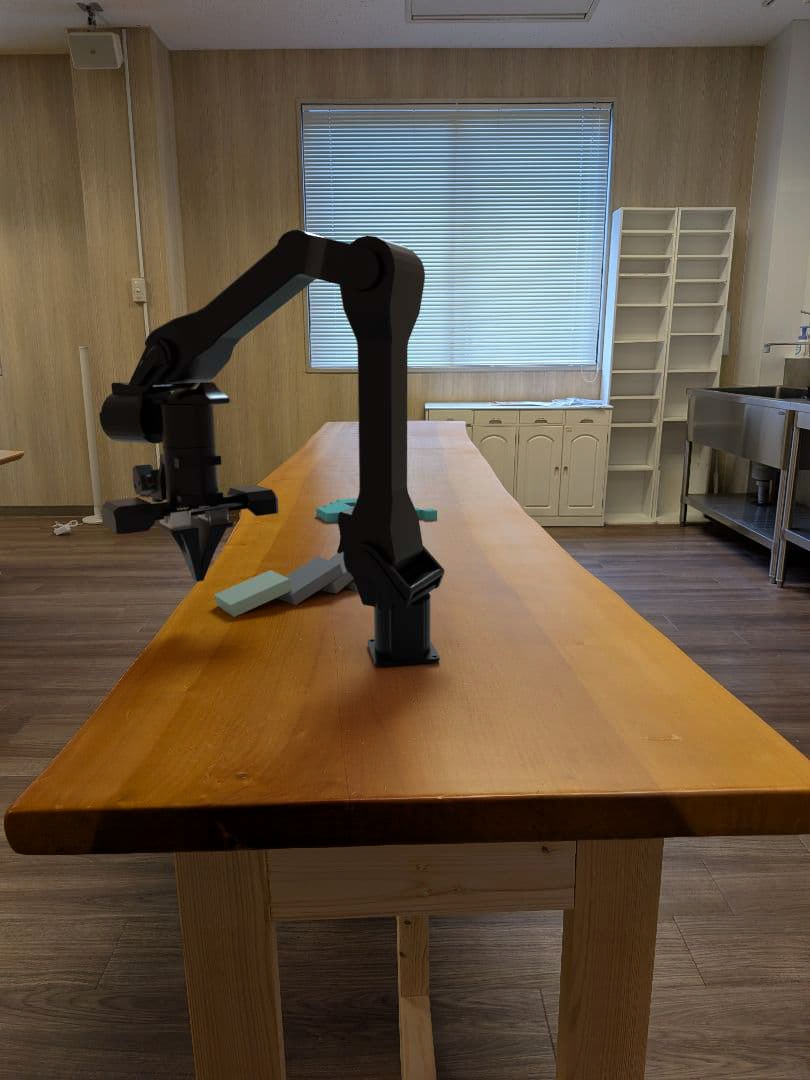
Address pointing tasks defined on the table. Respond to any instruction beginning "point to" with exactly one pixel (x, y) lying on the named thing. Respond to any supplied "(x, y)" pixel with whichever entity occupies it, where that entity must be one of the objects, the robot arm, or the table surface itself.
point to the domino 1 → (311, 579)
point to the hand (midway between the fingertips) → (198, 580)
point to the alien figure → (333, 509)
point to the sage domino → (252, 593)
